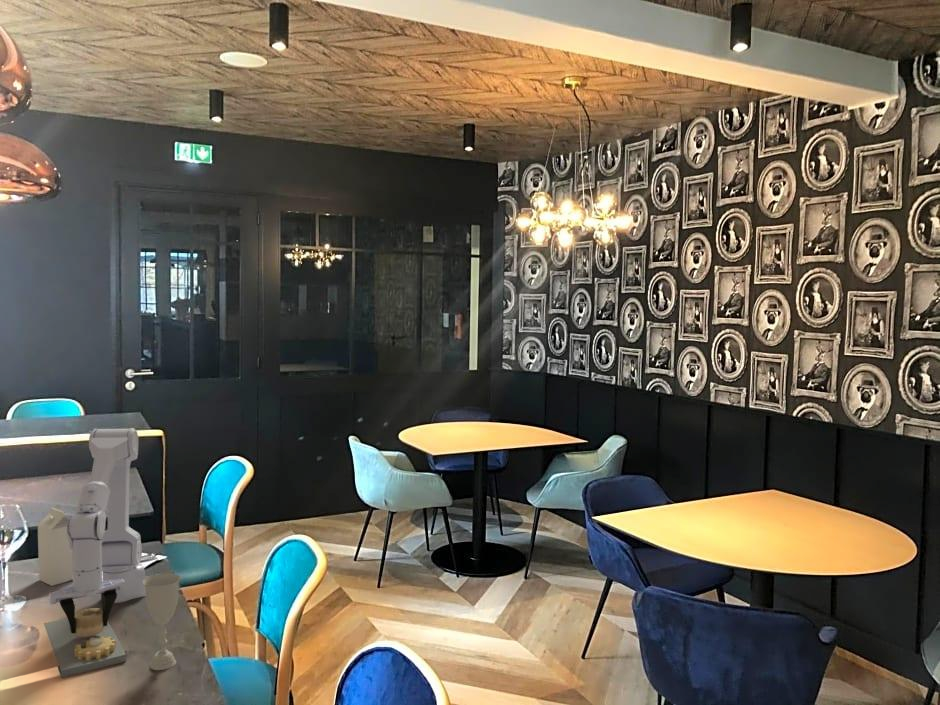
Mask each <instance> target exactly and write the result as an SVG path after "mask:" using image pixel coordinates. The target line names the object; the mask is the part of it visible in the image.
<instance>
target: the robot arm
mask: <svg viewBox="0 0 940 705" xmlns="http://www.w3.org/2000/svg"><path fill="white" fill-rule="evenodd" d="M88 448H89V451H90V453H91V457H92V458H93V464H92V469H91V474H90V480H89V482H88V483H86V484H85V485H84V486H83V487H82V489H81V493H80V497H79V498H78V499H79V500H78V503H77V506H76V510H75V512H74V514H73V515H70V517H68V519H69V520H68V523H67V537H68V540H69V547H70V549H72V571H73V580H72V586H70V587H67V588H64V589H59V590H57V591H53V592H49V594H48V596H49V598H48V600H49V604H50V605H51V606H52V605H56V604H57V603H59V604H60V607H61V610H63V612H64V614H65V616H66V618H68V621H69V625H70V631H71V633H72V634H73V633H75V632H76V628H75V613H76V605H75V601H74V600H76V599H80V598H85V597H86V598H88V597H93V596H96V595H100V599H101V609H102V610H103V626H107V622H109V616H110V614H111V611H112V608H113V605H114V604H118V603H124V602H128V601H130V600H134V599H138V598H142V597H146V588H145V586H144V584H143V580H145V579H146V571H145V567H144V565H143V563H141V560H142V553H143V545H142V541H141V539H142V538H141V534H140V533H139V532H138V531H136V530H134V529H133V528H131V527H130V526H129V525H130V524H129V523H130V475H131V472H130V470H131V462H132V461H135V460H137V459H138V455H139V434H138V430H136V429H135V428H134V427H131V428H93V429H92V431H91V432H90V434H89V438H88ZM106 511H107V513H106ZM106 519H107V528H106Z"/></svg>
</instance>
